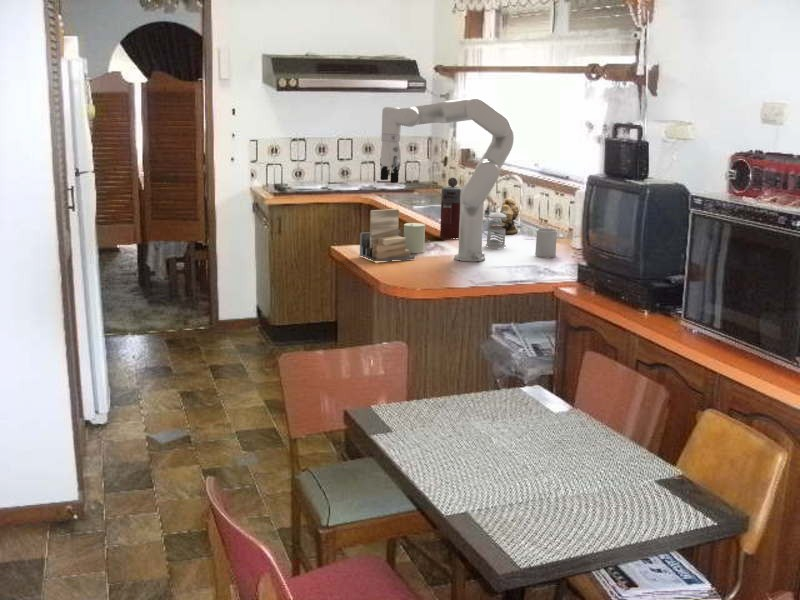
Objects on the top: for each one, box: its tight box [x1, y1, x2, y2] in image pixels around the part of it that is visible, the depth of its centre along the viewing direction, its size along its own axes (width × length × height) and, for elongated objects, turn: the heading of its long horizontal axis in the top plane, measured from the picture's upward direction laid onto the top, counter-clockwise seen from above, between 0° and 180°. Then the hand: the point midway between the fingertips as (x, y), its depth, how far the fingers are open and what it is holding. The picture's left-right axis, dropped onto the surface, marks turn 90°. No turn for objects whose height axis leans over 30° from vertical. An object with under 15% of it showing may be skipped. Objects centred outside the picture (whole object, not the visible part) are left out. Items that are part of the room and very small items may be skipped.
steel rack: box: [359, 229, 416, 261], centre depth 364 cm, size 14×18×10 cm
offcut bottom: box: [372, 249, 411, 259], centre depth 362 cm, size 6×14×2 cm, turn 118°
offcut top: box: [378, 236, 406, 246], centre depth 361 cm, size 5×10×2 cm, turn 126°
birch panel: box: [369, 208, 400, 248], centre depth 366 cm, size 2×12×18 cm, turn 118°
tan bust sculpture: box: [493, 197, 519, 236], centre depth 435 cm, size 18×12×17 cm, turn 176°
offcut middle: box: [373, 244, 406, 252], centre depth 361 cm, size 6×12×2 cm, turn 118°
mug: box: [534, 228, 558, 258], centre depth 380 cm, size 12×8×11 cm
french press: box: [482, 189, 507, 249], centre depth 395 cm, size 10×12×25 cm
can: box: [403, 222, 426, 254], centre depth 381 cm, size 9×9×12 cm
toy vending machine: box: [439, 176, 463, 240], centre depth 414 cm, size 9×11×28 cm
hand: (389, 181), depth 362 cm, fingers open, 9 cm apart
